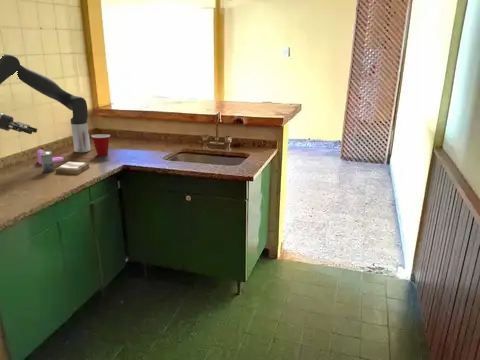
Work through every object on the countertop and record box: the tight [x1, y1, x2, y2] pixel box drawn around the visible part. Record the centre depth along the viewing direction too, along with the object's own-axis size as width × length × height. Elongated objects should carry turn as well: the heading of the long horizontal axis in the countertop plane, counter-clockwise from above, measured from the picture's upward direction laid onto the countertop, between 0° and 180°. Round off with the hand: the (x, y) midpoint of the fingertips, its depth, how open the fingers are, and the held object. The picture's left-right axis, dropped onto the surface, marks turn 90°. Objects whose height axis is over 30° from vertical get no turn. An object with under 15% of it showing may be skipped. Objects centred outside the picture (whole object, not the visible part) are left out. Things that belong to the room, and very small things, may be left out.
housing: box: [40, 150, 55, 173], centre depth 216 cm, size 5×5×10 cm
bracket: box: [36, 149, 65, 165], centre depth 233 cm, size 13×6×7 cm, turn 119°
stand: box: [55, 161, 90, 175], centre depth 218 cm, size 12×12×3 cm
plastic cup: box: [90, 133, 111, 157], centre depth 246 cm, size 11×11×12 cm
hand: (34, 131), depth 212 cm, fingers open, 8 cm apart
